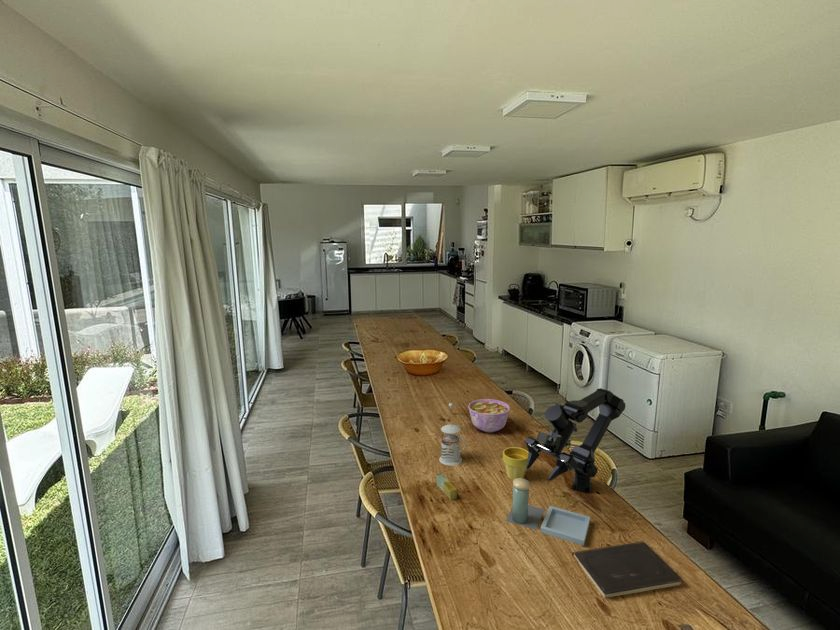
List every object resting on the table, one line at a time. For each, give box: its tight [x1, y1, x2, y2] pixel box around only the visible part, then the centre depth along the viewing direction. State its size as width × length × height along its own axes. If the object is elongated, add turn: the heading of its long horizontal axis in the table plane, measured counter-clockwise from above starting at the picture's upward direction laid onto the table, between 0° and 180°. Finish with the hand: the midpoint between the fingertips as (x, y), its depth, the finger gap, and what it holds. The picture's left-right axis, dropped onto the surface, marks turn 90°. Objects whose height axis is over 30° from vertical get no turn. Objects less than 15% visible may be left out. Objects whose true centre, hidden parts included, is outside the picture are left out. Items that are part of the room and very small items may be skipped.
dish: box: [539, 505, 591, 548], centre depth 141 cm, size 13×13×2 cm
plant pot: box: [502, 446, 529, 481], centre depth 171 cm, size 10×10×10 cm
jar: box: [511, 478, 530, 524], centre depth 144 cm, size 5×5×13 cm
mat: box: [505, 504, 545, 531], centre depth 147 cm, size 12×10×1 cm
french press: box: [438, 402, 467, 467], centre depth 182 cm, size 10×12×25 cm
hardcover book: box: [572, 541, 684, 599], centre depth 123 cm, size 16×23×2 cm
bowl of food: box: [468, 398, 511, 433], centre depth 213 cm, size 20×20×12 cm
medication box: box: [435, 473, 458, 501], centre depth 162 cm, size 12×3×4 cm, turn 25°
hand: (537, 474), depth 146 cm, fingers open, 9 cm apart
